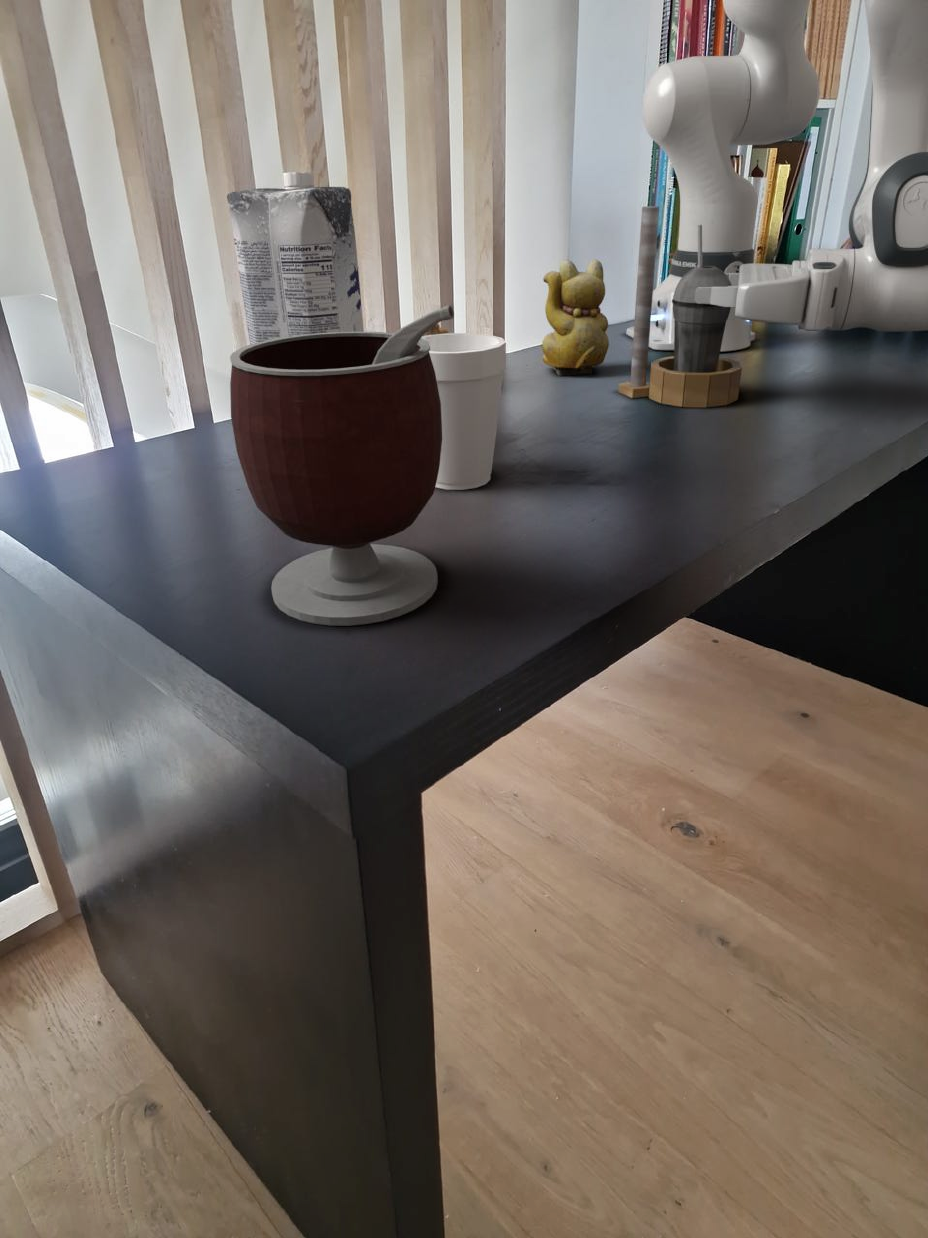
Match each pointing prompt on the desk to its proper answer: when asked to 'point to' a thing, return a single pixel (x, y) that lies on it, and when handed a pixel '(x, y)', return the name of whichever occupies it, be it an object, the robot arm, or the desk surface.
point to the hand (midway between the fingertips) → (697, 288)
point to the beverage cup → (698, 319)
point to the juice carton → (296, 259)
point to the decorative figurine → (575, 319)
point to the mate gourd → (342, 463)
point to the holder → (663, 378)
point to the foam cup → (467, 404)
